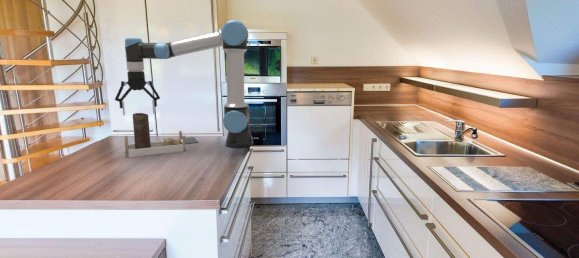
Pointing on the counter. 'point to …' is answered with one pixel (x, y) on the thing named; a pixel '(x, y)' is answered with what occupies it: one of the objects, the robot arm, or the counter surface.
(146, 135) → the rusty brown cylinder
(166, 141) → the offcut upper
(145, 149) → the rack
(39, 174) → the counter surface
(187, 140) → the mat
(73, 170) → the counter surface
